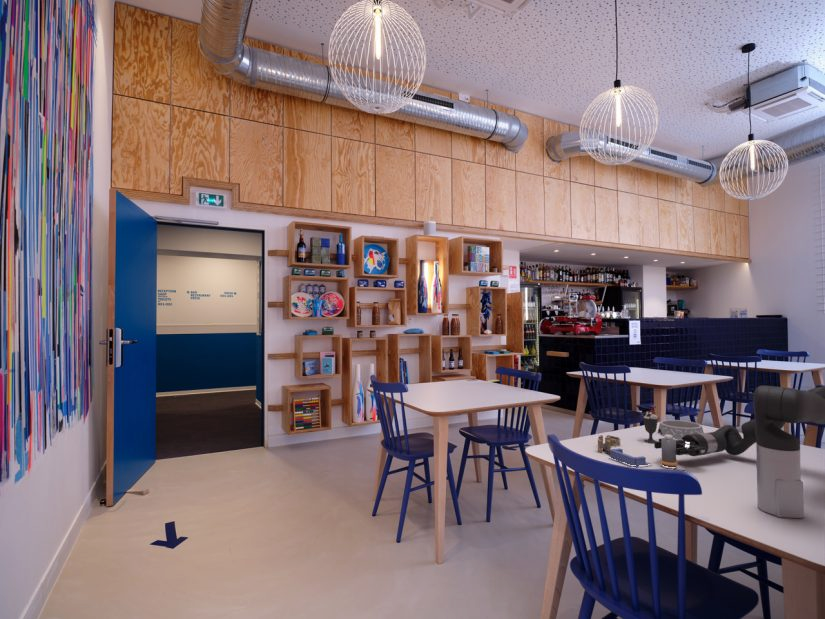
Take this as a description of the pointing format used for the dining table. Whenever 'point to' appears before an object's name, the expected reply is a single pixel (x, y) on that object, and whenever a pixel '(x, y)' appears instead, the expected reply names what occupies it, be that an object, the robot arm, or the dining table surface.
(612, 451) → the holder
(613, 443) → the tan wooden end block
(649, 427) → the sundae
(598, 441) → the clip
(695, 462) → the dining table surface
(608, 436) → the clip
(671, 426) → the dog bowl
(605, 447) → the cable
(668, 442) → the grey piece
